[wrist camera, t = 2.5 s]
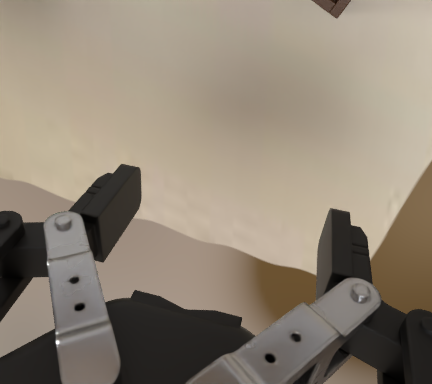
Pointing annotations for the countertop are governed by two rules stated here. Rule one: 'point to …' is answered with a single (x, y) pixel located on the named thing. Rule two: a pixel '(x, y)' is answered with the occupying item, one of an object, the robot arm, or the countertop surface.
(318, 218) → the countertop surface
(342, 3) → the tray
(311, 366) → the robot arm
